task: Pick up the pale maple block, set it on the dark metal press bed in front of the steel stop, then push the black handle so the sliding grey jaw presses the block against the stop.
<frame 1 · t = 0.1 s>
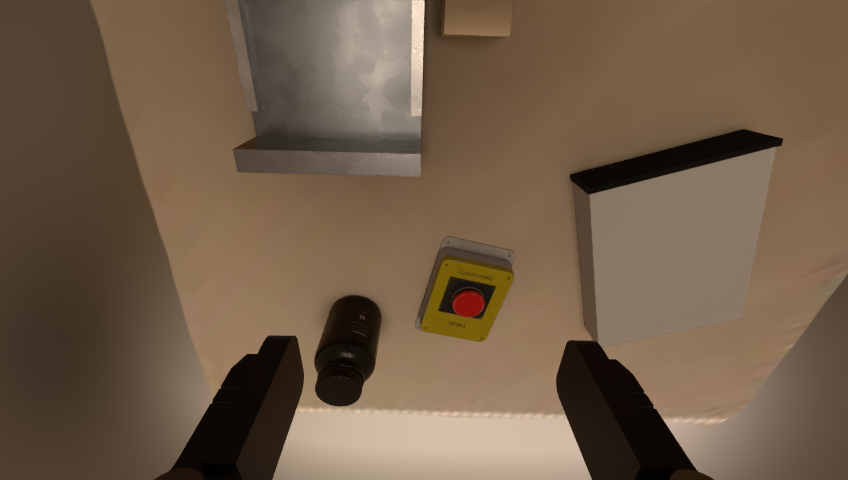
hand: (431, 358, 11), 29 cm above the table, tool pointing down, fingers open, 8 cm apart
emergency button: (461, 289, 46), on the table
maple block: (469, 4, 31), on the table
supplement bottle: (356, 314, 47), on the table
press: (335, 52, 32), on the table
disc drive: (648, 238, 43), on the table
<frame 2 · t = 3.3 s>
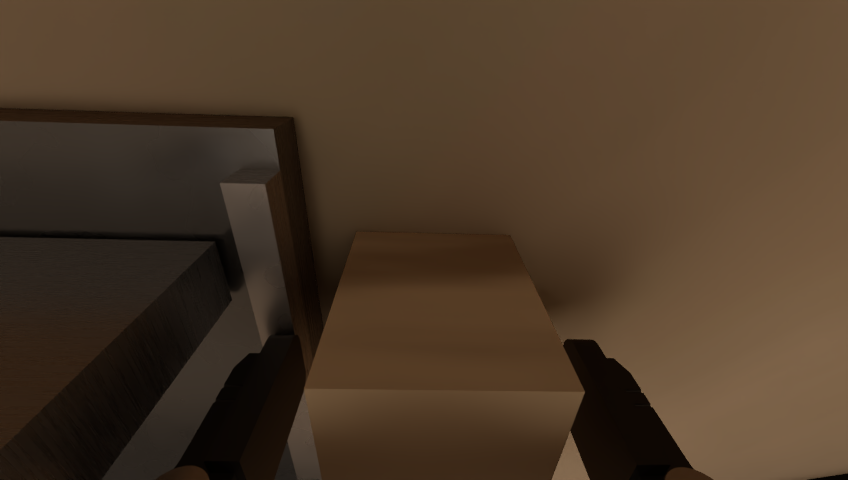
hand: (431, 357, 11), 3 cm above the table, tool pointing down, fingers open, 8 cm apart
maple block: (430, 293, 13), on the table
press: (130, 368, 14), on the table
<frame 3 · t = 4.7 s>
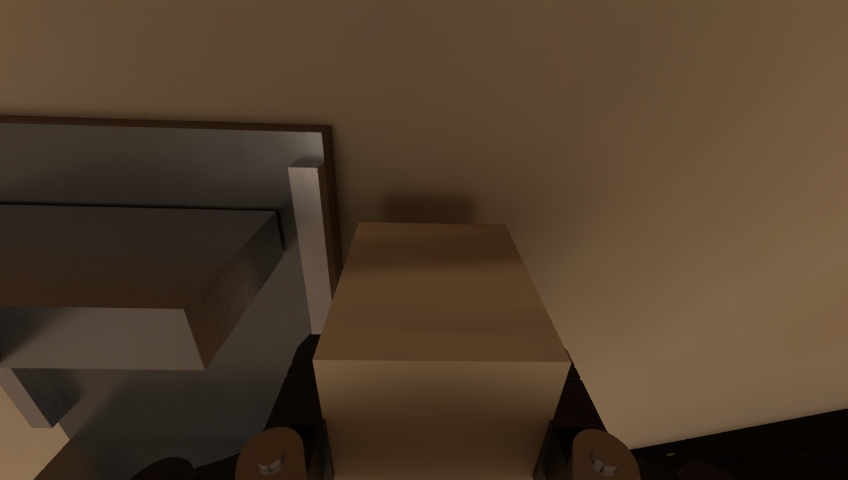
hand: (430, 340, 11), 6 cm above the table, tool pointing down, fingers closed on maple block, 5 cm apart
maple block: (429, 283, 13), point 3 cm above the table, touching gripper
press: (192, 321, 18), on the table
when the fingers open (4 cm above the table, at t = 8.3 s): maple block stays where it is, resting on press.
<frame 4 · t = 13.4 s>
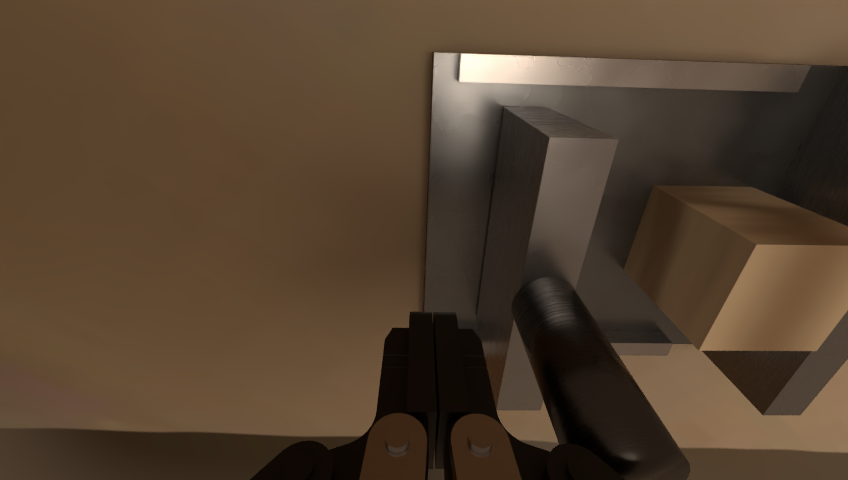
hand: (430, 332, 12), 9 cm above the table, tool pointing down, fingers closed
maple block: (683, 231, 19), point 1 cm above the table, touching press
jaw: (544, 304, 13), point 8 cm above the table, slide at 0.1 cm, touching gripper
press: (603, 218, 20), on the table
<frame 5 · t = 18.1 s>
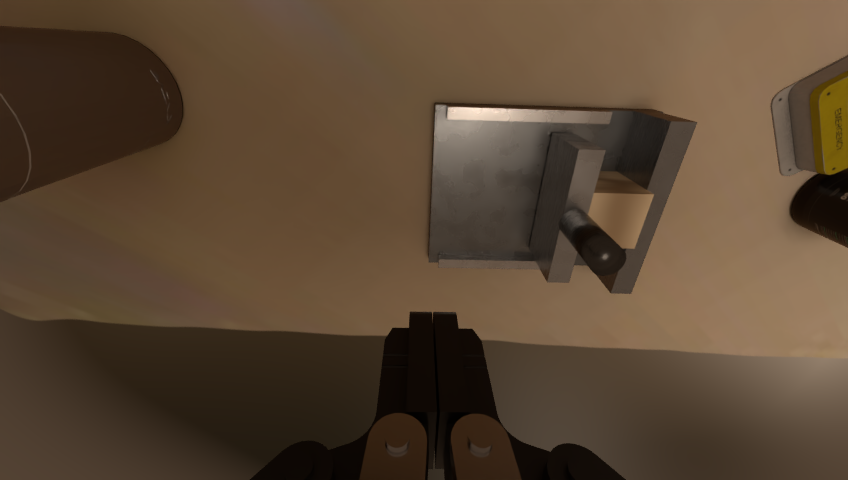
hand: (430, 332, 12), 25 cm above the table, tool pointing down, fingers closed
maple block: (584, 195, 35), point 1 cm above the table, touching jaw, press
jaw: (573, 222, 29), point 8 cm above the table, slide at 7.5 cm, touching maple block
supplement bottle: (822, 196, 37), on the table
press: (529, 189, 36), on the table
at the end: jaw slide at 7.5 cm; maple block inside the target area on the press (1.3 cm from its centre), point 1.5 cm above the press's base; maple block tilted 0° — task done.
